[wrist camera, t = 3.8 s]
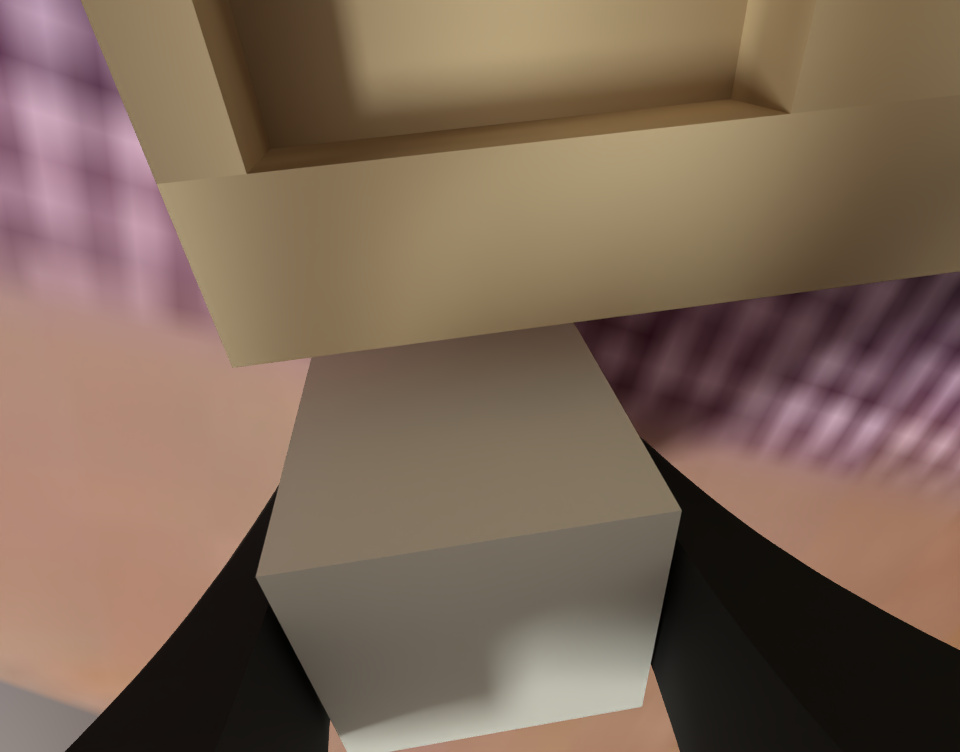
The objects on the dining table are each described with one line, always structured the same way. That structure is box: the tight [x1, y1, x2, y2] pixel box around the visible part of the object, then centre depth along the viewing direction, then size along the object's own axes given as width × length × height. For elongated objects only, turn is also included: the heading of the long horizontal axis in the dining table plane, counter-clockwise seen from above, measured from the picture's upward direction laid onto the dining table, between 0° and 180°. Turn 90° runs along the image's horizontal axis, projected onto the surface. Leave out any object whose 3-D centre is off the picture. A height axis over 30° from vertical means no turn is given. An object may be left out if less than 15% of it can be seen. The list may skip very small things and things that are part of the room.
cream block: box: [256, 323, 682, 752], centre depth 10 cm, size 5×5×5 cm
